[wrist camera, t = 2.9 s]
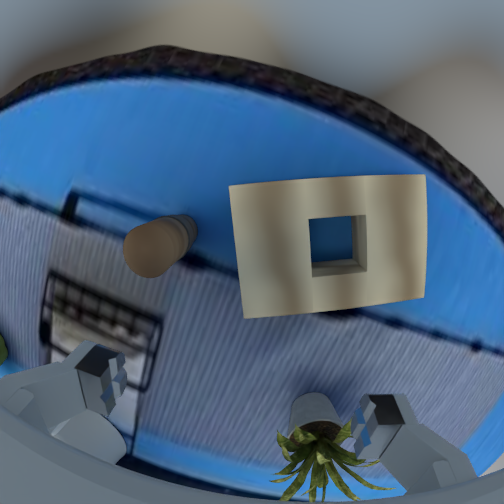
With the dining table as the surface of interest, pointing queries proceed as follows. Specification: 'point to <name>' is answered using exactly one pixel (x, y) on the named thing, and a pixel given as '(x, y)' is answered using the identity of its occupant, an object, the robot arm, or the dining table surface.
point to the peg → (159, 244)
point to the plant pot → (2, 351)
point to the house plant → (317, 447)
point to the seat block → (336, 271)
